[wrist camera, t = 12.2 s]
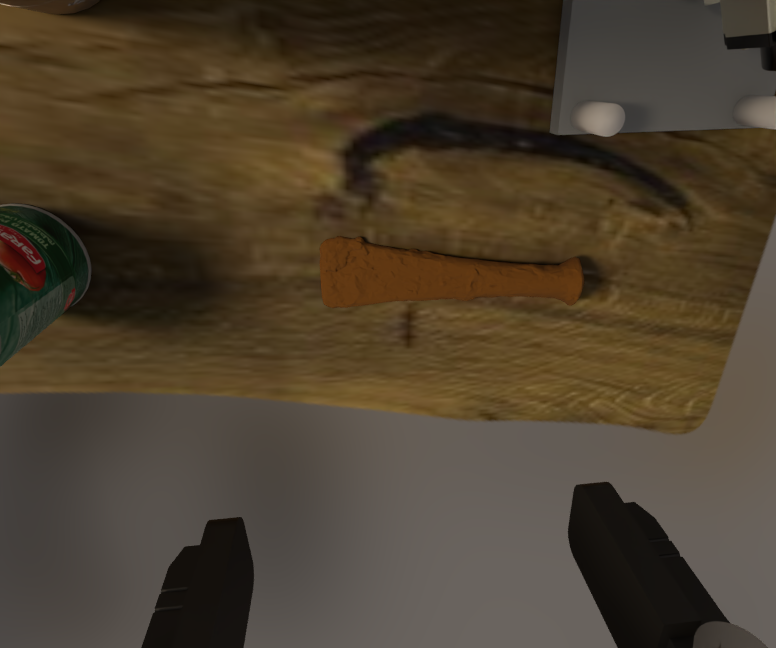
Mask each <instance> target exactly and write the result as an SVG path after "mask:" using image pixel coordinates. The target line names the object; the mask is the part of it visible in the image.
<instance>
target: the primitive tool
mask: <svg viewBox="0 0 776 648" xmlns="http://www.w3.org/2000/svg"><path fill="white" fill-rule="evenodd" d="M320 254H321V258H320V274H321V289H322V298H323V302H324V304H325V305H326V306H328V307H332V308H336V307H341V308H342V307H346V308H347V307H351V306H362V305H368V304H375V303H383V302H392V301H408V300H411V301H424V300H438V299H453V298H455V299H457V300H462V301H468V300H470V299H474V298H477V297H499V296H508V297H513V296H525V297H528V296H529V297H546V298H556V299H559V300H562V301H563V302H565V303H566V304H567V305H573V304H575V303H576V301H577V300H578V299H579V298H580V296H581V293H582V290H583V286H584V275H583V270H582V267H581V261H580V259H579V258H576V257H573V258H570V259H568V260H567V261H565V262H563V263H561V264H560V265H538V264H518V263H508V262H494V261H485V260H479V259H469V258H459V257H452V256H444V255H440V254H433V253H431V252H428V251H418V250H416V249H410V250H405V249H396V248H392V247H388V246H381V245H376V244H370V243H366V242H364V240H363V238H361V237H357V238H354V239H350V238H347V237H342V236H337V237H336V238H331V239H327V240H325V241H324V242H323V243H322V244H321V247H320Z"/></svg>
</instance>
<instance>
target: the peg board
mask: <svg viewBox="0 0 776 648" xmlns="http://www.w3.org/2000/svg"><path fill="white" fill-rule="evenodd" d="M775 90H776V71H766V70H764V69H762V66H761V54H760V48H749V49H746V50H741V49H731V50H727V46H726V45H725V43H724V34H723V25H722V15H721V6H720V2H718V3H715V4H711V5H704V0H563V7H562V17H561V27H560V37H559V46H558V56H557V66H556V75H555V85H554V95H553V104H552V114H551V124H550V133H552V134H556V135H573V134H596V135H600V136H604V137H610V136H613V135H615V134H616V133H628V132H655V131H683V130H710V129H737V128H768V129H776V96H774V94H775Z"/></svg>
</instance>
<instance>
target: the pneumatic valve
mask: <svg viewBox="0 0 776 648" xmlns="http://www.w3.org/2000/svg"><path fill="white" fill-rule="evenodd" d="M718 2H720V6H721V15H722V25H723V34H724V43H725V45H726V46H727V50H731V49H741V50H746V49H749V48H760V54H761V66H762V69H764V70H766V71H776V0H704V5H711V4H715V3H718Z"/></svg>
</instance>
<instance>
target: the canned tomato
mask: <svg viewBox="0 0 776 648" xmlns="http://www.w3.org/2000/svg"><path fill="white" fill-rule="evenodd" d="M90 280H91V263H90V258H89V255H88V253H87V250H86V248H85V246H84V244H83V243H82V241H81V239H80V238H79V236H78V235H77V234H76V233H75V232H74V231H73V229H72V228H71V227H69V226H68V225H67V224H66V223H65V222H64V221H62V220H61V219H60V218H58V217H56V216H55V215H53V214H51V213H50V212H47V211H45V210H43V209H40V208H38V207H34V206H30V205H26V204H13V203H12V204H4V205H0V367H1V366H2V365H3V364H4V363H5V362H6V361H7V360H9V359H10V358H11V357H12V356H13V355H14V354H15V353H17V352H18V351H19V350H20V349H21V348H22V347H24V346H25V345H26V344H27V343H28V342H29V341H31V340H32V339H33V338H35V337H36V336H37V335H38V334H40V333H41V332H42V331H43V330H44V329H46V328H47V327H48V326H49V325H50V324H51V323H52V322H54V321H55V320H56V319H57V318H58V317H59V316H60V315H62V314H63V313H64V312H65V311H66V310H67V309H68V308H70V307H71V306H73V305H74V304H76V303H77V302H78V301H79V300H80V299H81V298H82V297H83V296H84V294H85V292H86V291H87V289H88V287H89V283H90Z"/></svg>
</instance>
